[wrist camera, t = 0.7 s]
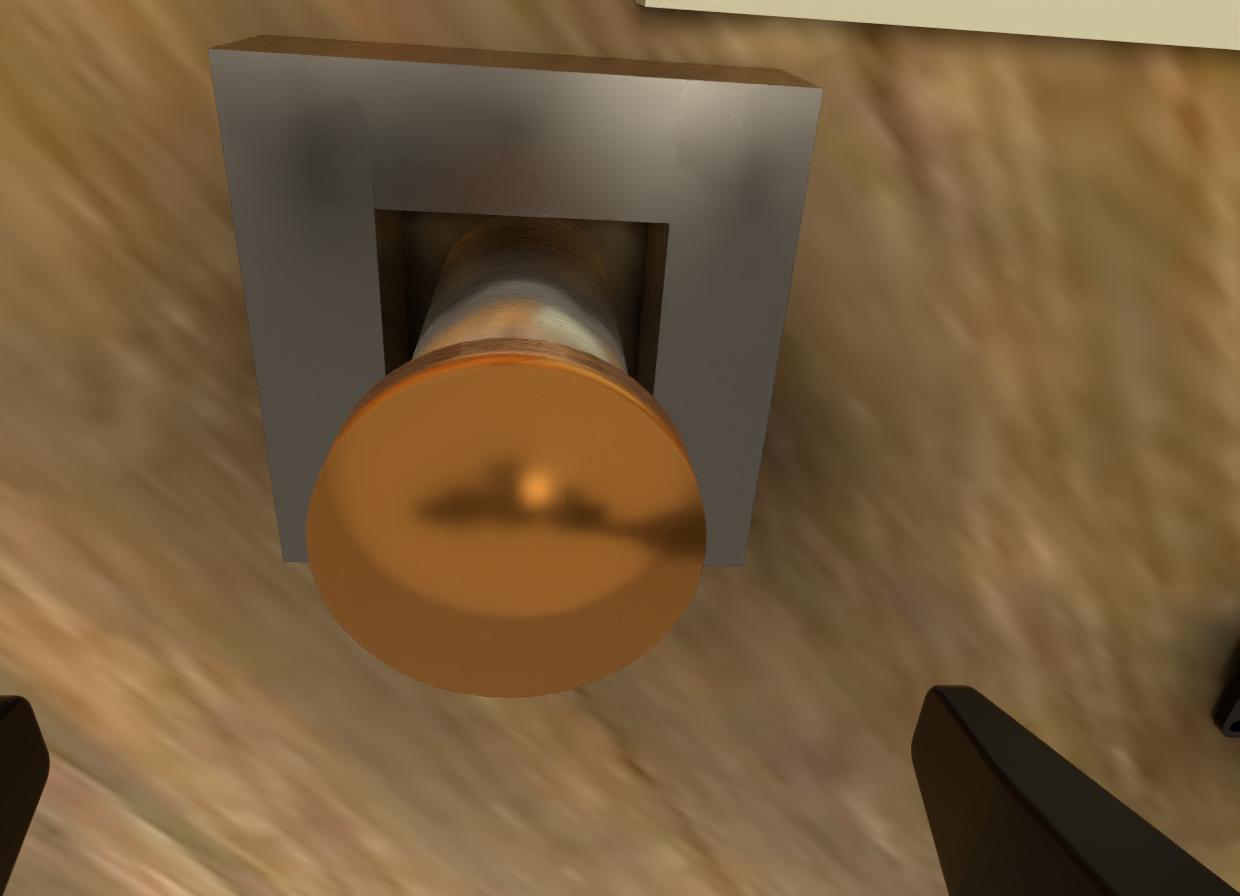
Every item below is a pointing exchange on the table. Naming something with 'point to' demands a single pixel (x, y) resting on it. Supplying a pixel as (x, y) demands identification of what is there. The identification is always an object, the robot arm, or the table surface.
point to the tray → (1017, 16)
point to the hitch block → (515, 186)
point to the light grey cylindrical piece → (509, 483)
